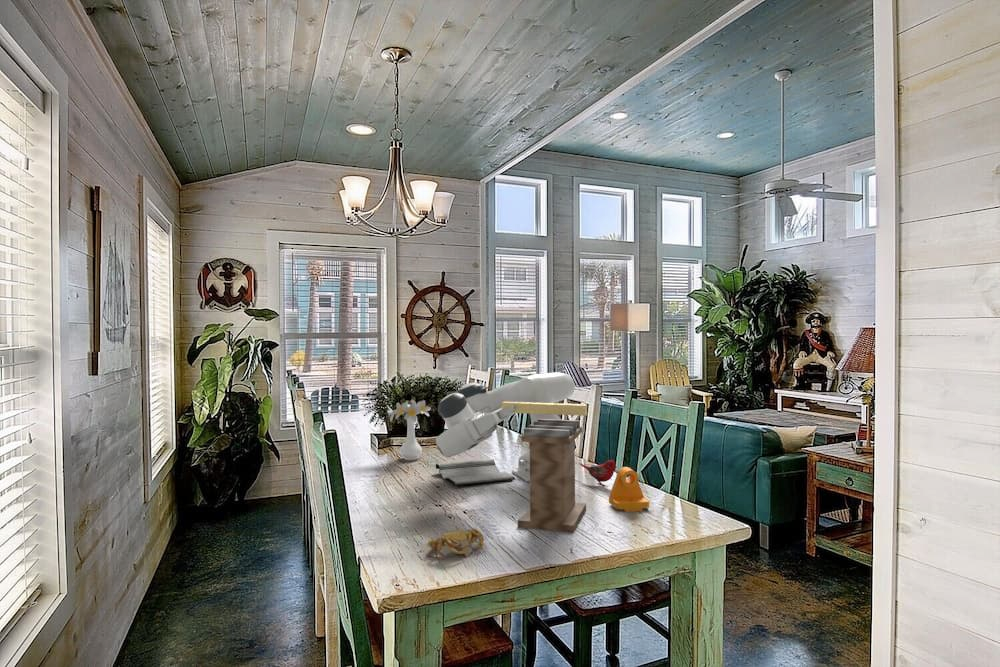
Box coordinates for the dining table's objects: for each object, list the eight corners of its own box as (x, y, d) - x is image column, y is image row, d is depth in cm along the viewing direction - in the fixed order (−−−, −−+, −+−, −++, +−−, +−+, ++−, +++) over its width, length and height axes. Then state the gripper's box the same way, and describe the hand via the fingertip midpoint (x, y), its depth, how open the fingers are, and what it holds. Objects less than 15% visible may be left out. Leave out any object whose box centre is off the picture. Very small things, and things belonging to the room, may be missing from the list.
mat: (455, 490, 215) (455, 476, 214) (435, 474, 236) (435, 462, 236) (515, 482, 224) (515, 469, 224) (490, 468, 245) (490, 456, 245)
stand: (517, 527, 175) (517, 429, 174) (536, 505, 195) (535, 417, 194) (573, 532, 170) (572, 432, 169) (586, 509, 190) (585, 419, 189)
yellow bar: (501, 412, 190) (501, 402, 190) (504, 411, 193) (504, 401, 193) (585, 415, 182) (585, 405, 182) (586, 414, 185) (586, 404, 185)
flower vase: (386, 457, 264) (385, 399, 264) (429, 454, 269) (428, 397, 268) (388, 464, 252) (388, 403, 251) (433, 461, 256) (432, 401, 256)
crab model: (456, 537, 168) (456, 517, 168) (492, 547, 160) (492, 527, 160) (415, 554, 156) (414, 533, 156) (451, 566, 148) (451, 544, 148)
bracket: (616, 512, 188) (616, 473, 187) (609, 505, 195) (608, 467, 194) (650, 510, 189) (650, 471, 189) (641, 503, 196) (641, 466, 196)
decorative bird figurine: (614, 490, 210) (614, 462, 210) (576, 480, 224) (576, 453, 224) (619, 489, 212) (619, 460, 212) (582, 479, 226) (581, 452, 225)
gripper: (495, 429, 204) (530, 410, 200) (474, 441, 184) (512, 420, 180) (486, 412, 205) (520, 393, 201) (464, 422, 185) (501, 401, 181)
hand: (516, 406), depth 190 cm, fingers closed on yellow bar, 3 cm apart
